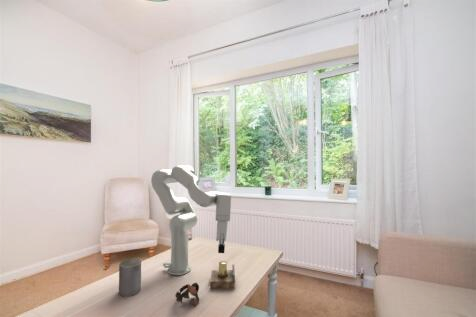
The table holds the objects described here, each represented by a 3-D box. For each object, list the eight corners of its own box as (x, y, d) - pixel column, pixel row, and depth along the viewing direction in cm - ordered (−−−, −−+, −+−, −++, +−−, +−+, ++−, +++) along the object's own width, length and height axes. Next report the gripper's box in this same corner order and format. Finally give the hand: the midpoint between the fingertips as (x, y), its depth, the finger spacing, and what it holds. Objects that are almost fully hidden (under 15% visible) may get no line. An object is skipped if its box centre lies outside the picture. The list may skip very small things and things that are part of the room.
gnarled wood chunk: (194, 312, 97) (184, 295, 97) (178, 315, 101) (169, 299, 101) (207, 290, 108) (198, 275, 108) (193, 294, 112) (184, 280, 112)
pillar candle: (119, 288, 115) (119, 257, 115) (141, 284, 118) (141, 254, 118) (117, 299, 106) (118, 265, 106) (141, 294, 109) (141, 262, 110)
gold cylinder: (218, 284, 119) (218, 264, 119) (218, 280, 123) (219, 261, 123) (226, 284, 119) (226, 264, 119) (226, 280, 123) (226, 261, 123)
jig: (210, 288, 114) (210, 275, 114) (211, 276, 126) (212, 264, 126) (234, 288, 115) (234, 275, 115) (234, 276, 127) (234, 264, 127)
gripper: (216, 213, 129) (214, 246, 129) (214, 220, 114) (213, 258, 114) (230, 213, 129) (228, 247, 129) (230, 221, 114) (228, 259, 114)
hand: (221, 252), depth 121 cm, fingers closed
